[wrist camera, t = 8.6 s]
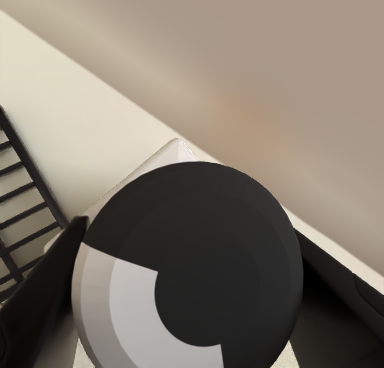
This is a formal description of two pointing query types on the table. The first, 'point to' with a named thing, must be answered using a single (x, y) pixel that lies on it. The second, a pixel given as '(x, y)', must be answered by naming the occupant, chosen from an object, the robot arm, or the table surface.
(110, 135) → the table surface
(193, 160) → the medicine bottle
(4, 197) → the wire rack
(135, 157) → the table surface
